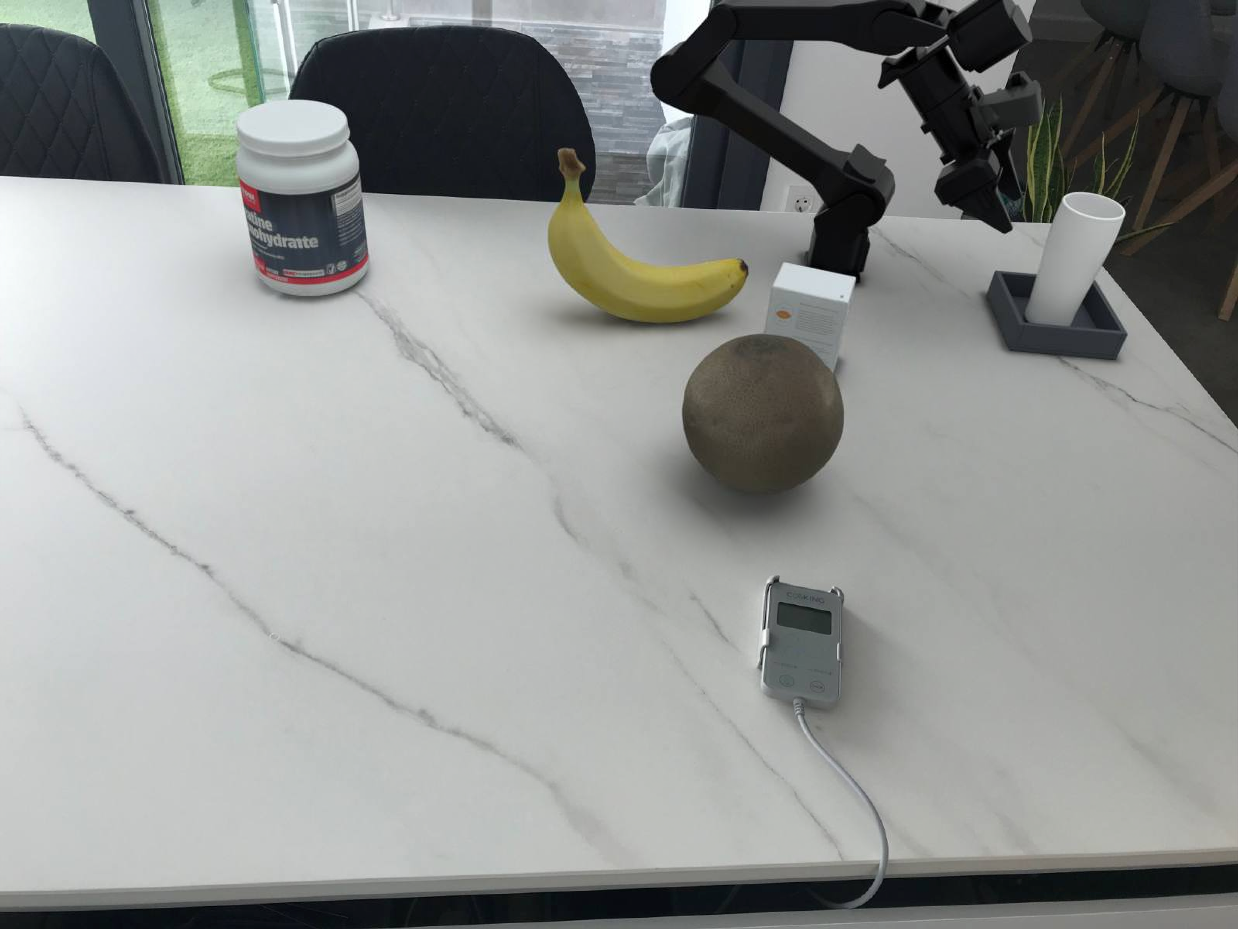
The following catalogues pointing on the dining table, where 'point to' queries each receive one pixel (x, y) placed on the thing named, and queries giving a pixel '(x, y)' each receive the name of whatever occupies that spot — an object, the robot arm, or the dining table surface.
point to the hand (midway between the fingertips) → (1013, 214)
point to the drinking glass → (1073, 256)
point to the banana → (631, 267)
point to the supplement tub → (302, 197)
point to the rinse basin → (1086, 336)
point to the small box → (810, 308)
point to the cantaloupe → (762, 413)
